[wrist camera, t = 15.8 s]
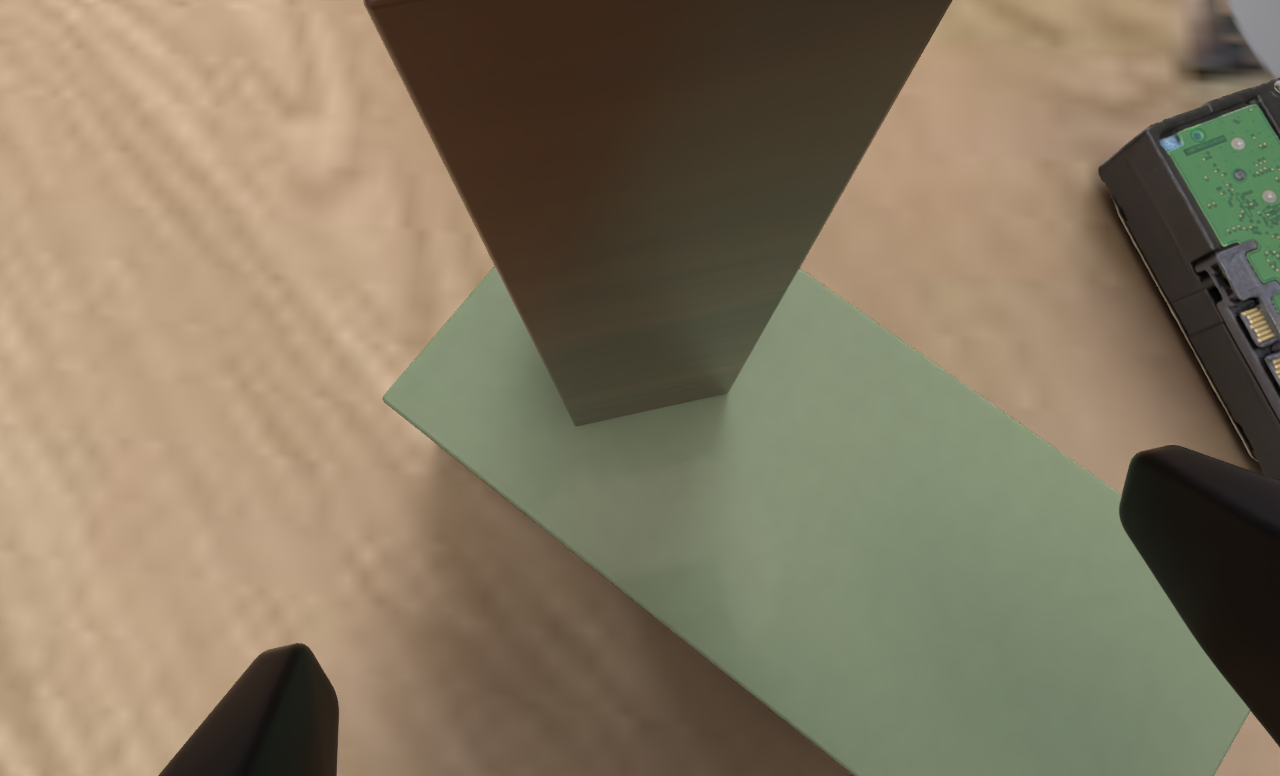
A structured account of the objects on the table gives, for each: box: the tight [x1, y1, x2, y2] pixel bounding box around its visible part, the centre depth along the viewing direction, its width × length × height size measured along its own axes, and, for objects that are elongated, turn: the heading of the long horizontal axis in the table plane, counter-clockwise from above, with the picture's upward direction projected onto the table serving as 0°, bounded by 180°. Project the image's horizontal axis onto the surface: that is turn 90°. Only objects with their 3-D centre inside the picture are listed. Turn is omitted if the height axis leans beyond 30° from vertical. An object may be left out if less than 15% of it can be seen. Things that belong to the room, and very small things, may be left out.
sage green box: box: [383, 266, 1250, 776], centre depth 19 cm, size 8×18×5 cm, turn 53°
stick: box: [363, 0, 952, 426], centre depth 11 cm, size 3×3×13 cm
